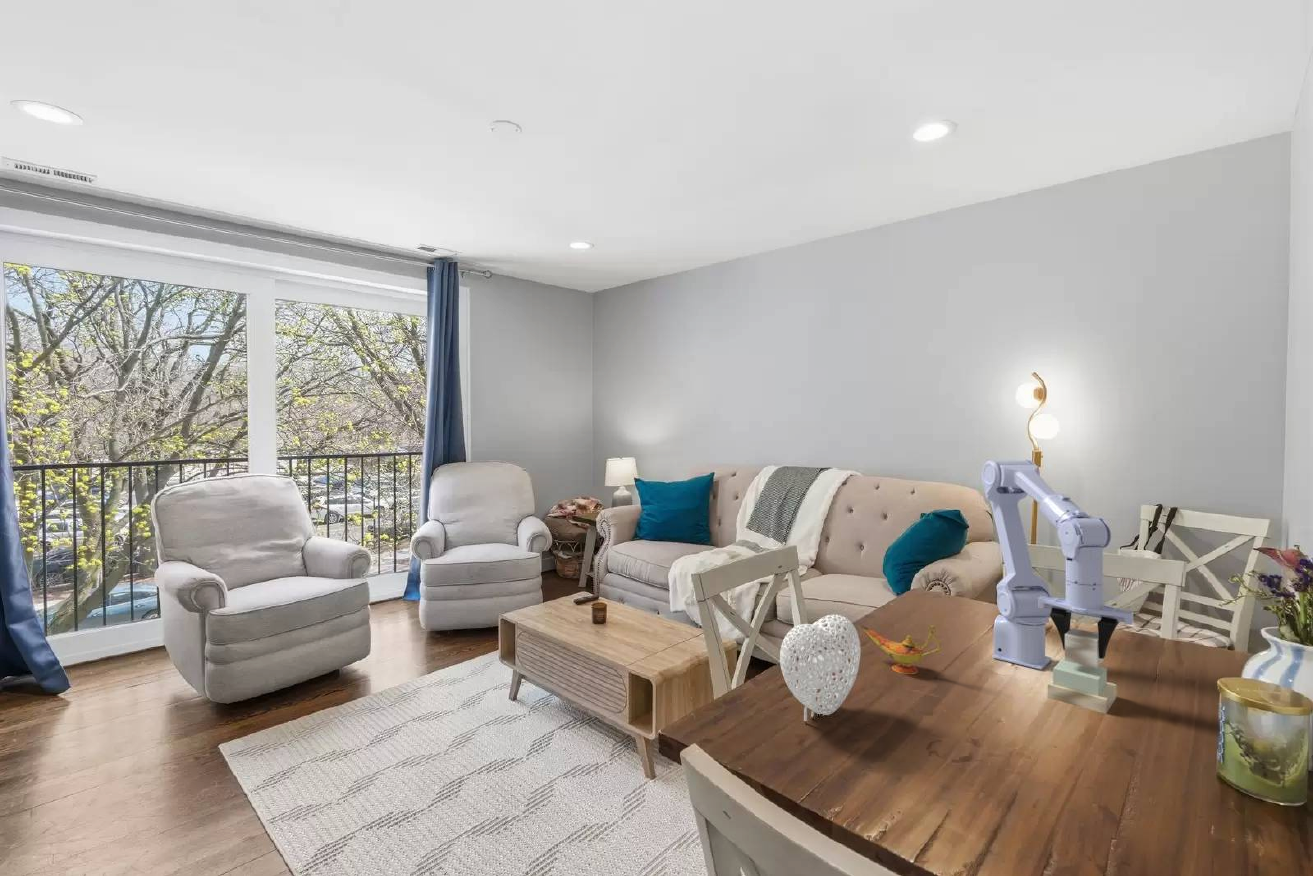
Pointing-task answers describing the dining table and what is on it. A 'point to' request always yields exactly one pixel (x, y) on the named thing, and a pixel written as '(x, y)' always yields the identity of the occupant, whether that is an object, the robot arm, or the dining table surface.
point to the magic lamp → (902, 650)
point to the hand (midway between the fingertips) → (1083, 653)
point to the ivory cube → (1082, 647)
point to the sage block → (1080, 677)
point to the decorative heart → (821, 663)
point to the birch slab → (1084, 697)
